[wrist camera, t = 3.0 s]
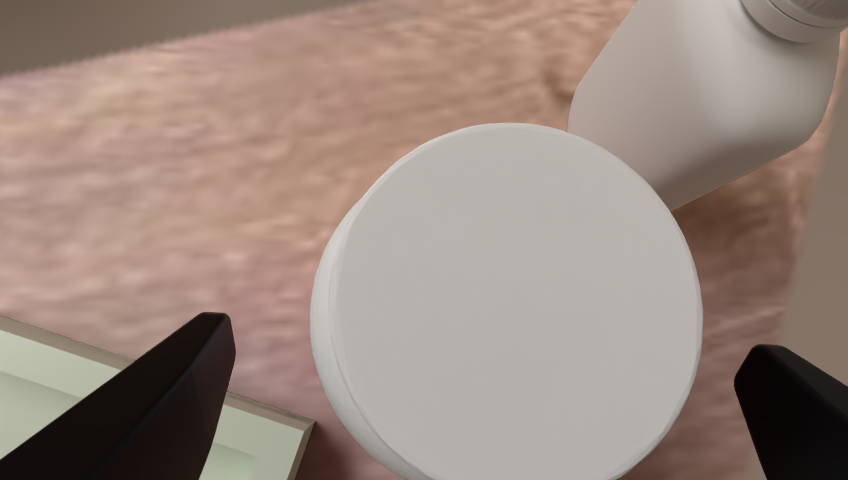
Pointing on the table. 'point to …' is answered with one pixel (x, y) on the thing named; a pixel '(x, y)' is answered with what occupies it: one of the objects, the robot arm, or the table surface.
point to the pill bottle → (508, 311)
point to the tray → (91, 367)
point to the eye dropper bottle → (709, 88)
